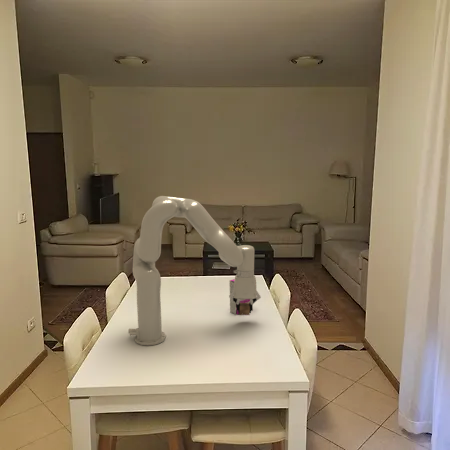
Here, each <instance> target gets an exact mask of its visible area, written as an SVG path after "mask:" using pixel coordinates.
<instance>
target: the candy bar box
mask: <svg viewBox="0 0 450 450" xmlns="http://www.w3.org/2000/svg"><path fill="white" fill-rule="evenodd" d="M234 281H235V278H234V279H230V280H229V295H230V294H231V293H232V291H233V290H234ZM233 296H234V295H233ZM239 302H240V303H250V299H240V301H239ZM229 311H230V313H231V314H234V315H235V316H238V315H240V313H238V310H237V304H236V303H235V302H234V301H233V300H232V299H231V298H229Z"/></svg>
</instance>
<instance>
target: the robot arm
mask: <svg viewBox="0 0 450 450" xmlns="http://www.w3.org/2000/svg"><path fill="white" fill-rule="evenodd" d="M172 218H183V219H186V220H187V221H188V222H189V224H190V225H191V226H192V227H193V229H195V231H196V232H197V233H198V234H199V236H200V237H201V238H202V239H203V240H204V241H205V242H206V243H207V244H209V245H211V246H212V248H214V249H215V250H216V251H217V252H218V257H219V258H220V260H221V261H223V262H224V263H225V264H227V265H228V266H230V267H233V268H236V269H235V270H233V274H236V275H235V276H234V279H235V281H234V290H233V291H232V293H231V294H230V293H229V295H228V298H229V299H230V298H231V299H232V300H233V301H234V302H235V303H236V304H237V310H238V313H240V302H239V301H240V299H250V303H249V306H250V314H252V312H253V305H254V304H255V303H256V302H257V301H258V300H260V299H261V298H262V296H261V295H260V293H259V292H258V291H257V277H256V275H255V247H254V246H252V245H249V244H243V245H242V244H241V245H237V244H236V243H235V242H234V241H233V240H232V238H231V237H230V236H229V235H228V234H227V233H226V232H225V231H224V230H223V229H222V227H220V225H219V224H218V223H217V222H216V220H215V219H213V217H212V216H211V215H210V213H209V212H208V211H207V209H206V208H205V207H204V206H203V205H202V204H201V203H200V202H199V201H197V200H195V199H193V198H192V199H191V198H185V197H184V198H182V197H175V196H174V197H173V196H165V195H159V196H157V197H155V198H154V200H153V202H152V204H151V207H150V208H149V209H147V211H145V214H144V216H143V218H142V221H141V226H140V234H139V238H137V239H136V241H135V242H134V246H133V255H132V256H133V258H132V259H133V260H132V275H133V277H134V280H135V282H136V307H137V309H136V310H137V327H136V328H128V334H129V336H135V337H134V341H135V343H136V344H138V345H141V346H155V345H159V344H161V343H163V342H164V341H165V340H166V337H167V336H166V333H165V332H164V331H163V329H162V304H161V303H162V302H161V286H162V278H161V274H160V271H159V270H158V269H157V267H156V262H157V261H158V260H159V258H160V256H161V253H162V236H163V229H164V226H165V224H166V223H167V222H168V221H169V220H170V219H172ZM233 295H234V296H233Z"/></svg>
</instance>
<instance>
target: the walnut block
mask: <svg viewBox="0 0 450 450" xmlns="http://www.w3.org/2000/svg"><path fill="white" fill-rule="evenodd" d="M239 315H240V316H250V315H251V313H250V306H249V303H240V314H239Z"/></svg>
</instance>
